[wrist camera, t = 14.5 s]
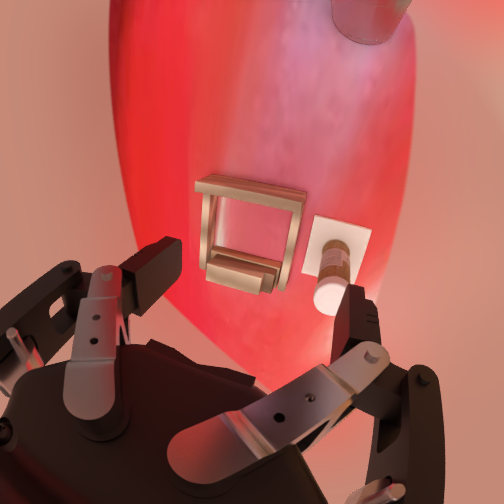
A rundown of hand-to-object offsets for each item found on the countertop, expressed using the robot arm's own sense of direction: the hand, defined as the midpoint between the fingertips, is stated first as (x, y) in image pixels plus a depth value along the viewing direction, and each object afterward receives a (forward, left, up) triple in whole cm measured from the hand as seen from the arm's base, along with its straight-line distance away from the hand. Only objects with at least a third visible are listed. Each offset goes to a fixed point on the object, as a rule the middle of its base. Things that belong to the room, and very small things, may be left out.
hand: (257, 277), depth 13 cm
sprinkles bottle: (+11, +6, -30) cm, 32 cm away
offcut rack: (+11, -8, -30) cm, 33 cm away
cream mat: (+11, +6, -30) cm, 33 cm away
